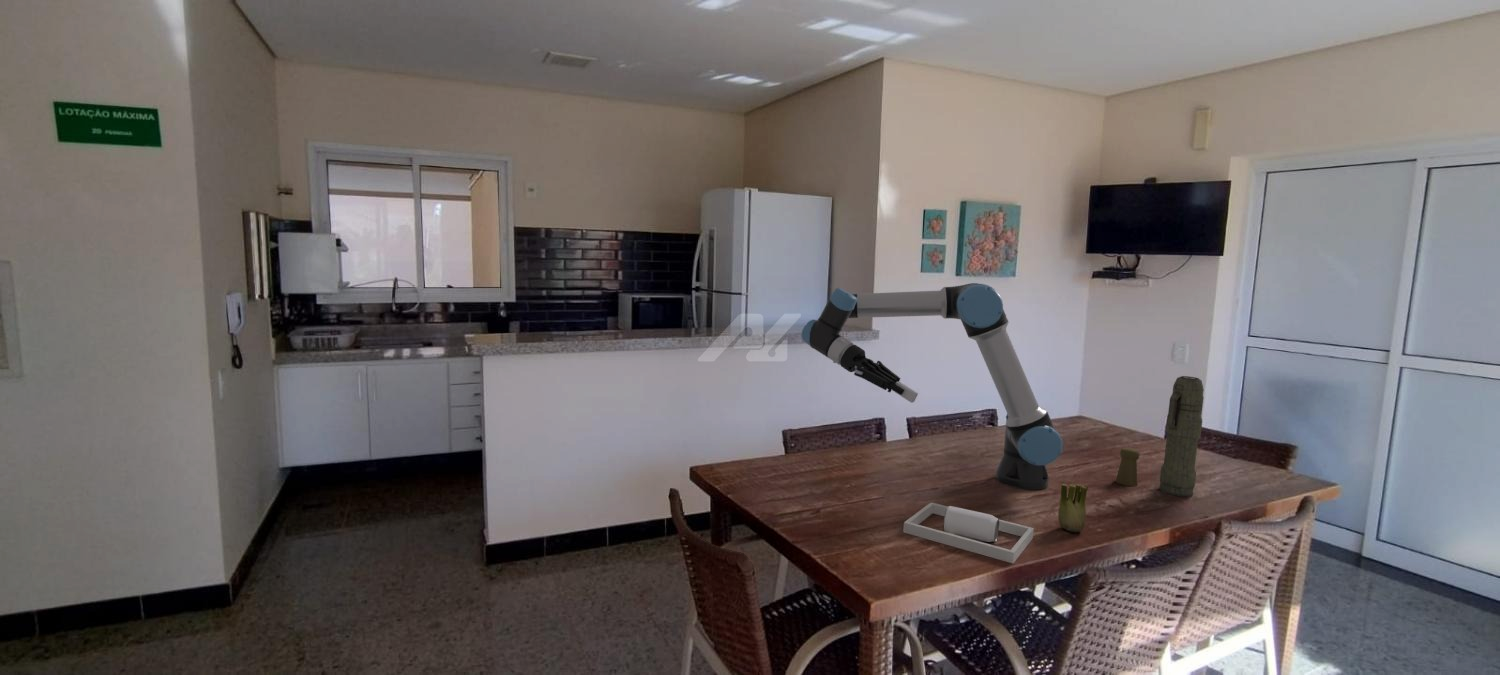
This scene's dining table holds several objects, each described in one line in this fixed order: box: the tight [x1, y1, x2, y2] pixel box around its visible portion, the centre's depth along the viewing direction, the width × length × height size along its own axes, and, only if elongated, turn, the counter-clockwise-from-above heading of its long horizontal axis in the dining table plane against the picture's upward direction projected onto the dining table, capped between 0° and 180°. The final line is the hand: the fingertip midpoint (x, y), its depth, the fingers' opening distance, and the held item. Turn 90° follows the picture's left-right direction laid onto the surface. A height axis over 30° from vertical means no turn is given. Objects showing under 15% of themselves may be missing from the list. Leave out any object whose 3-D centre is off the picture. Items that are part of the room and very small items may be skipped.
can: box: [943, 505, 1000, 543], centre depth 164 cm, size 6×6×12 cm
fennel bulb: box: [1058, 483, 1088, 534], centre depth 170 cm, size 6×5×12 cm
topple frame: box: [902, 501, 1035, 564], centre depth 165 cm, size 26×18×2 cm
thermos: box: [1158, 375, 1205, 498], centre depth 201 cm, size 9×12×35 cm
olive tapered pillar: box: [1115, 447, 1140, 487], centre depth 209 cm, size 6×6×11 cm
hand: (914, 398), depth 183 cm, fingers closed
